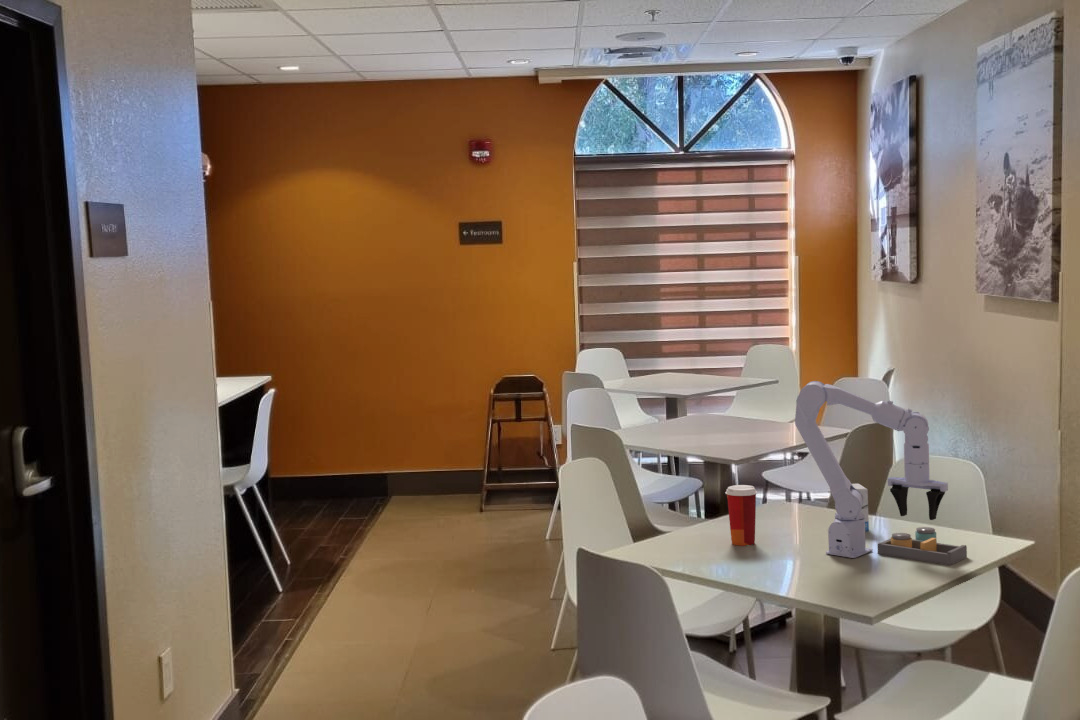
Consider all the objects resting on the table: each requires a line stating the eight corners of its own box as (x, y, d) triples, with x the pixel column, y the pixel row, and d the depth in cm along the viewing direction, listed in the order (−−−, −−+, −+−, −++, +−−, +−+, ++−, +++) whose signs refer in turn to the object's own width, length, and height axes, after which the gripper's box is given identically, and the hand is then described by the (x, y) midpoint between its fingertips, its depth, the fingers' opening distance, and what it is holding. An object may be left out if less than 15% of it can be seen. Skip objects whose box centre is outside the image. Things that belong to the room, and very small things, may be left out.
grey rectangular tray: (950, 565, 238) (950, 552, 238) (877, 553, 252) (877, 541, 252) (967, 557, 245) (966, 545, 244) (895, 546, 258) (895, 534, 258)
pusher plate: (924, 559, 244) (924, 543, 244) (920, 559, 245) (920, 542, 245) (936, 554, 249) (936, 538, 249) (932, 553, 250) (932, 537, 249)
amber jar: (906, 556, 249) (906, 538, 248) (887, 553, 252) (886, 535, 252) (916, 552, 252) (915, 534, 252) (897, 549, 256) (896, 531, 255)
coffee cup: (757, 539, 272) (755, 484, 271) (760, 546, 264) (758, 489, 263) (725, 539, 273) (723, 485, 272) (728, 547, 265) (726, 490, 264)
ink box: (869, 531, 275) (868, 488, 275) (851, 531, 275) (850, 489, 275) (860, 524, 284) (859, 482, 283) (842, 524, 284) (841, 483, 283)
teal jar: (931, 550, 253) (930, 532, 253) (912, 547, 257) (911, 529, 257) (940, 546, 257) (939, 528, 256) (921, 543, 260) (920, 526, 260)
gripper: (953, 462, 245) (954, 517, 246) (896, 457, 255) (897, 510, 256) (939, 466, 240) (941, 523, 241) (882, 461, 251) (884, 515, 251)
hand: (918, 517), depth 248 cm, fingers open, 7 cm apart
